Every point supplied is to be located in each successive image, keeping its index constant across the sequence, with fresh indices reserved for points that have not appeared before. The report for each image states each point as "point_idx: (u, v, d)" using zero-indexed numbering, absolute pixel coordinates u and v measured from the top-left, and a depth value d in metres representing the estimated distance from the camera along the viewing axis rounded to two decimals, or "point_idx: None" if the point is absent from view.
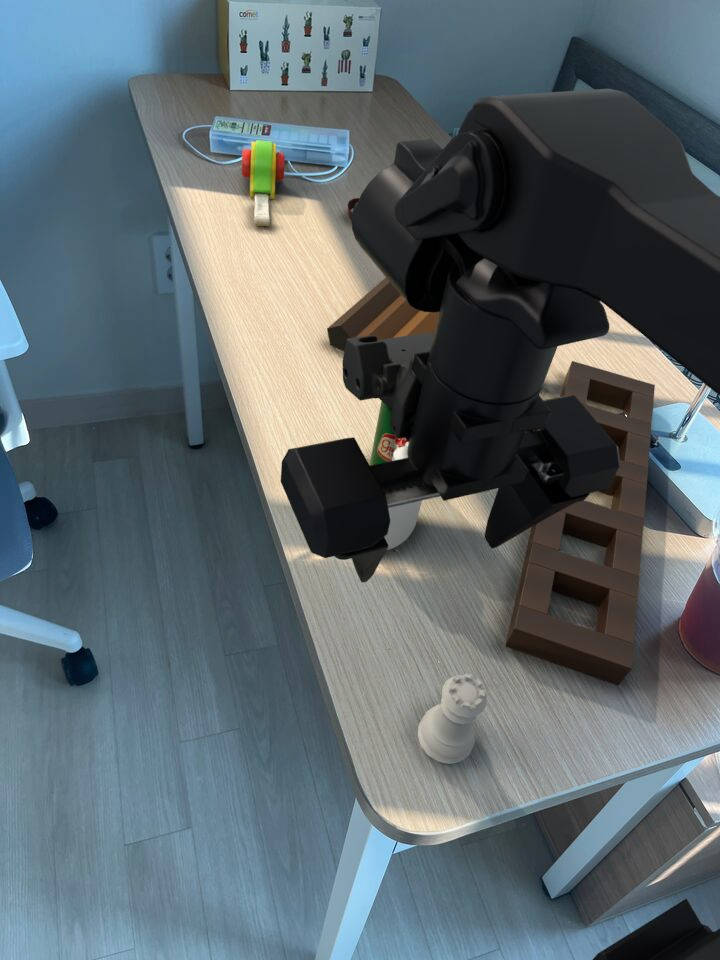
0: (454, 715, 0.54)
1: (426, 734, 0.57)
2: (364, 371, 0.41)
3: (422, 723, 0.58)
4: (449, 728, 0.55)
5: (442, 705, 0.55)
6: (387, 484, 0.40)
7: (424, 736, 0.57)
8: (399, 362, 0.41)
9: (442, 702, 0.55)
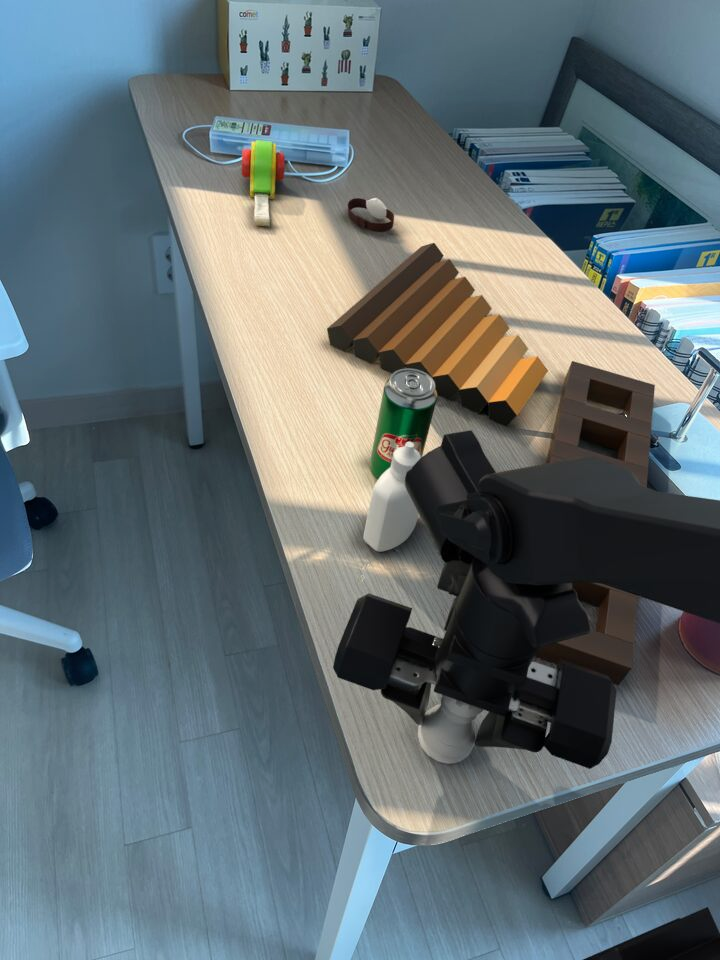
0: (454, 715, 0.54)
1: (426, 734, 0.57)
2: (445, 571, 0.53)
3: (422, 723, 0.58)
4: (449, 728, 0.55)
5: (442, 705, 0.55)
6: (411, 656, 0.52)
7: (424, 736, 0.57)
8: None
9: (442, 702, 0.55)
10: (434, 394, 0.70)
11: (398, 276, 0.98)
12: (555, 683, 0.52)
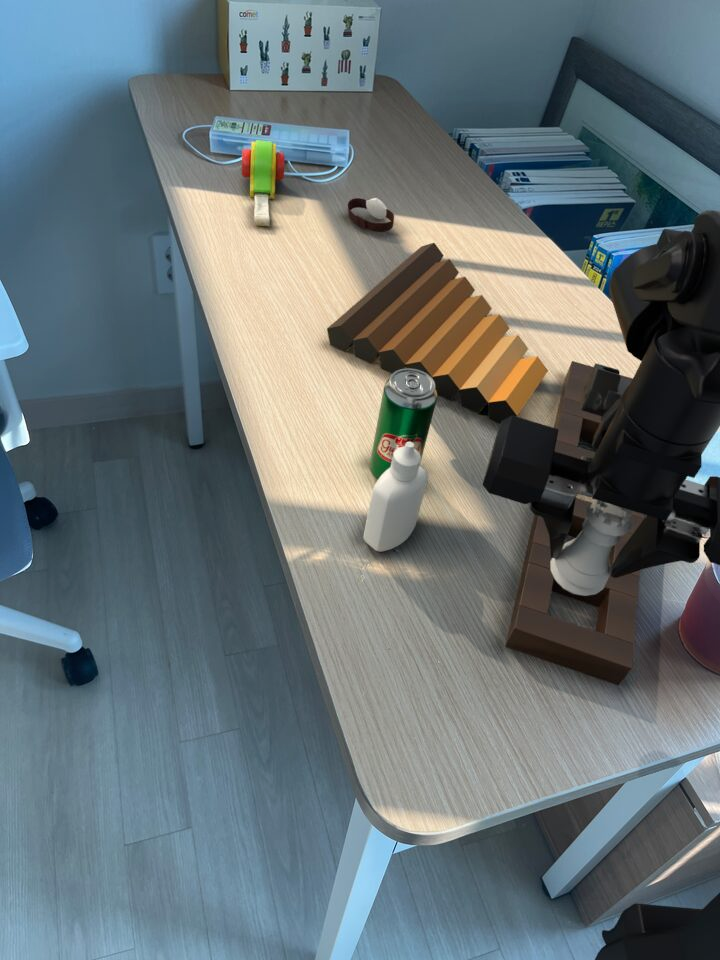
0: (598, 537, 0.54)
1: (562, 566, 0.57)
2: (592, 389, 0.53)
3: None
4: (590, 554, 0.55)
5: (584, 530, 0.54)
6: (562, 471, 0.51)
7: (560, 568, 0.57)
8: (622, 394, 0.52)
9: (584, 527, 0.55)
10: (434, 394, 0.70)
11: (398, 276, 0.98)
12: (707, 497, 0.51)
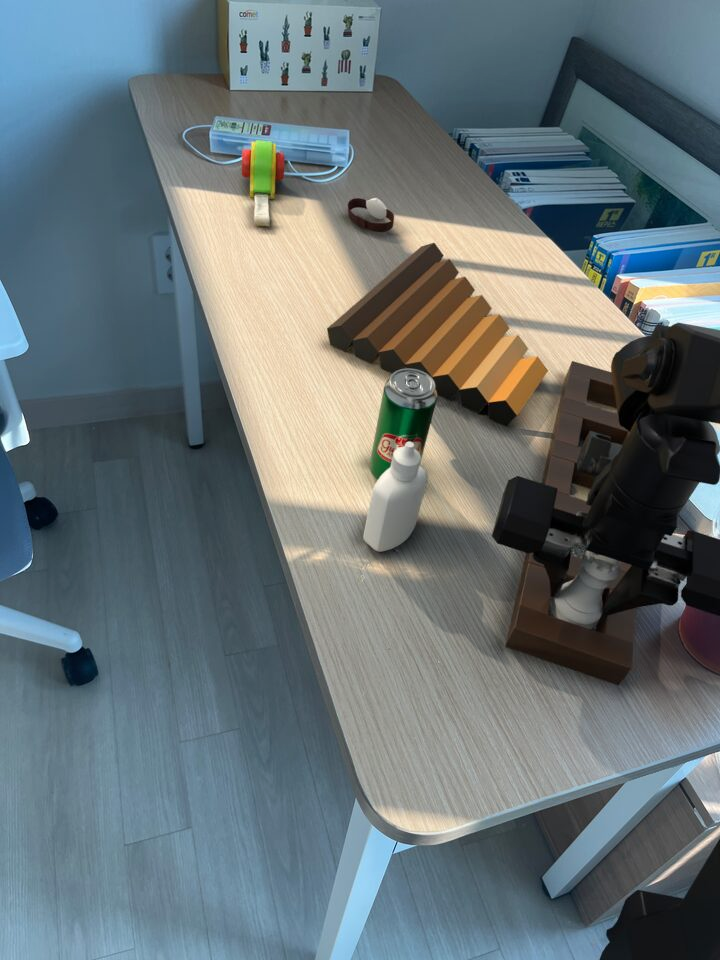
0: (592, 581, 0.62)
1: (561, 604, 0.65)
2: (587, 453, 0.61)
3: None
4: (585, 595, 0.63)
5: (580, 574, 0.63)
6: (560, 525, 0.60)
7: (559, 606, 0.65)
8: (613, 458, 0.60)
9: (579, 572, 0.63)
10: (434, 394, 0.70)
11: (398, 276, 0.98)
12: (685, 548, 0.60)
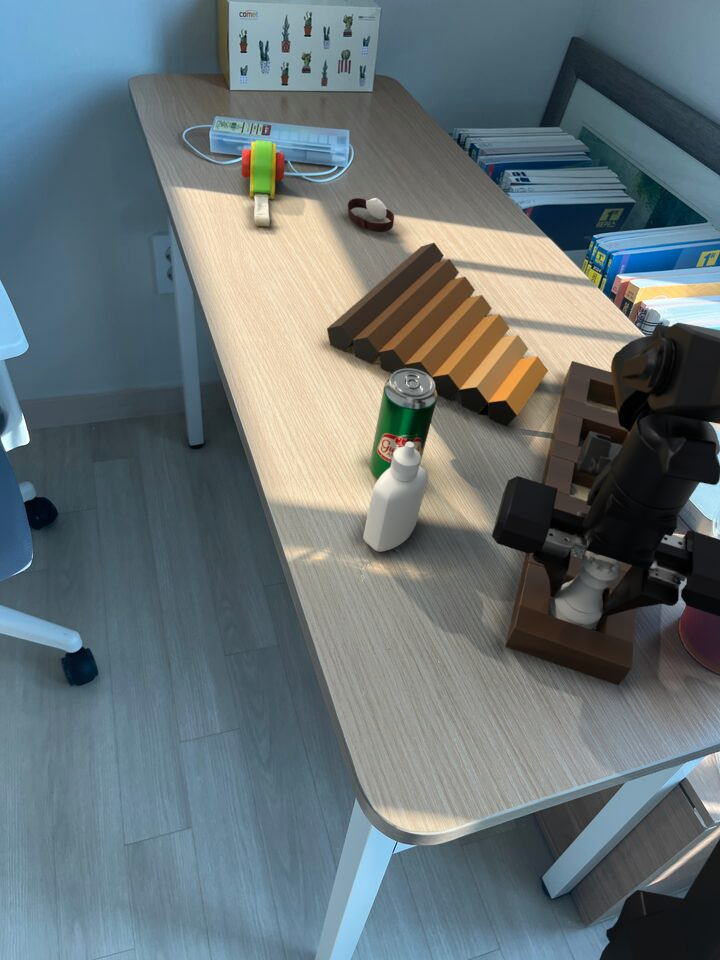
0: (592, 581, 0.62)
1: (561, 604, 0.65)
2: (587, 454, 0.61)
3: None
4: (585, 595, 0.63)
5: (580, 574, 0.63)
6: (560, 525, 0.60)
7: (559, 606, 0.65)
8: (612, 459, 0.60)
9: (580, 572, 0.63)
10: (434, 394, 0.70)
11: (398, 276, 0.98)
12: (685, 548, 0.60)
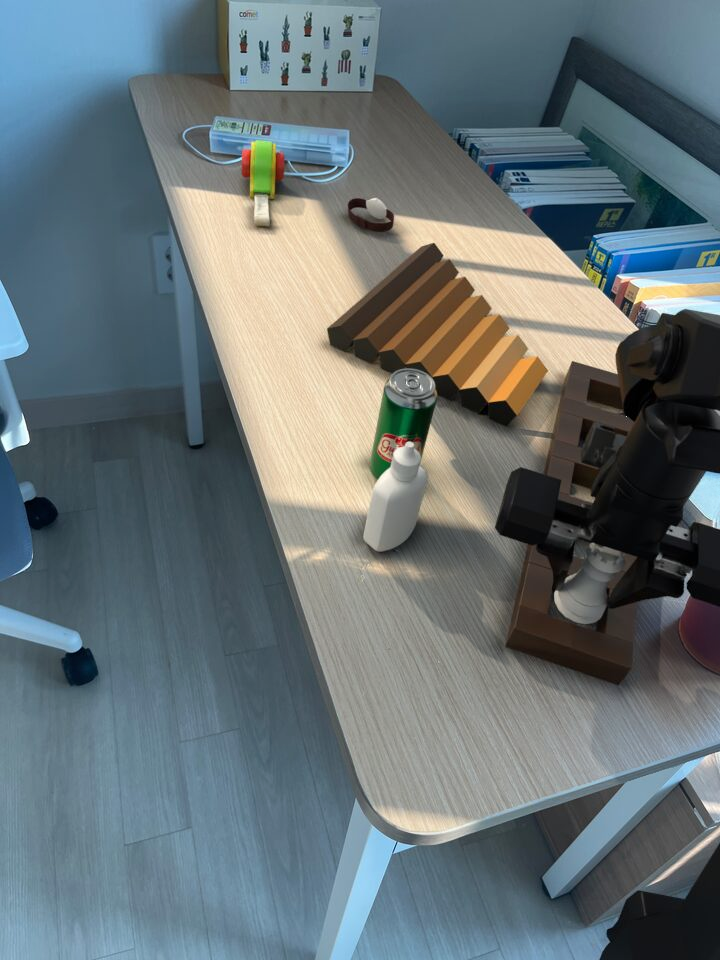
0: (596, 574, 0.61)
1: (565, 597, 0.65)
2: (591, 444, 0.60)
3: None
4: (589, 588, 0.63)
5: (584, 566, 0.62)
6: (564, 516, 0.59)
7: (562, 600, 0.65)
8: (617, 450, 0.60)
9: (583, 564, 0.62)
10: (434, 394, 0.70)
11: (398, 276, 0.98)
12: (691, 540, 0.59)
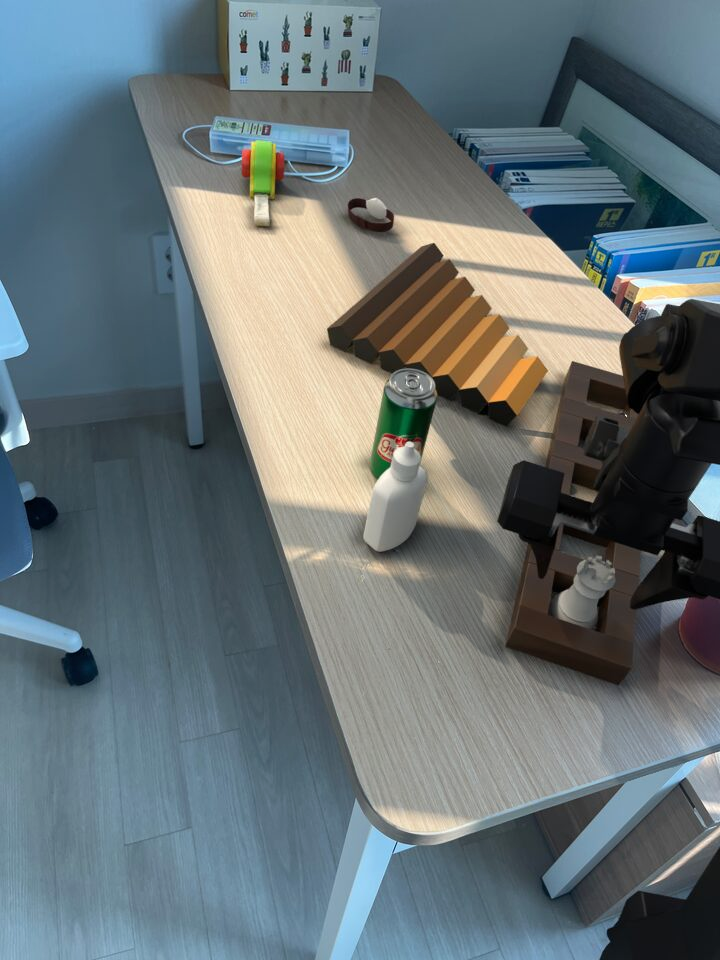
0: (587, 591, 0.63)
1: (557, 613, 0.66)
2: (594, 437, 0.60)
3: (551, 605, 0.67)
4: (580, 604, 0.64)
5: (575, 584, 0.64)
6: (567, 510, 0.59)
7: (554, 615, 0.66)
8: (621, 442, 0.59)
9: (575, 581, 0.64)
10: (434, 394, 0.70)
11: (398, 276, 0.98)
12: None
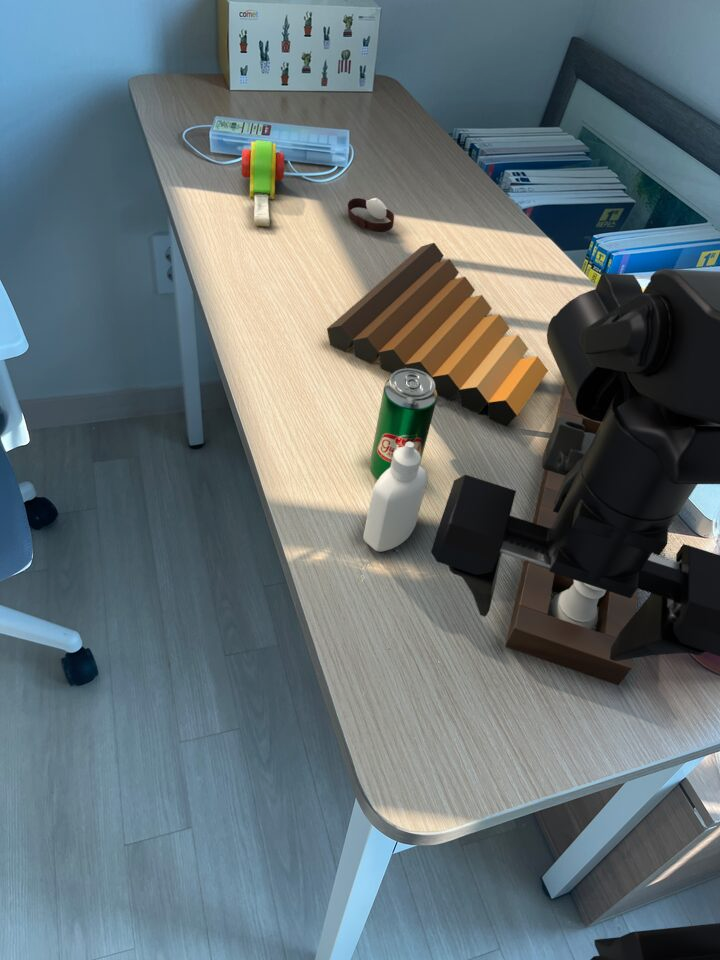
0: (587, 591, 0.63)
1: (557, 613, 0.66)
2: (554, 446, 0.48)
3: (551, 605, 0.67)
4: (580, 604, 0.64)
5: (575, 584, 0.64)
6: (518, 538, 0.46)
7: (554, 615, 0.66)
8: (586, 453, 0.47)
9: (575, 581, 0.64)
10: (434, 394, 0.70)
11: (398, 276, 0.98)
12: None
